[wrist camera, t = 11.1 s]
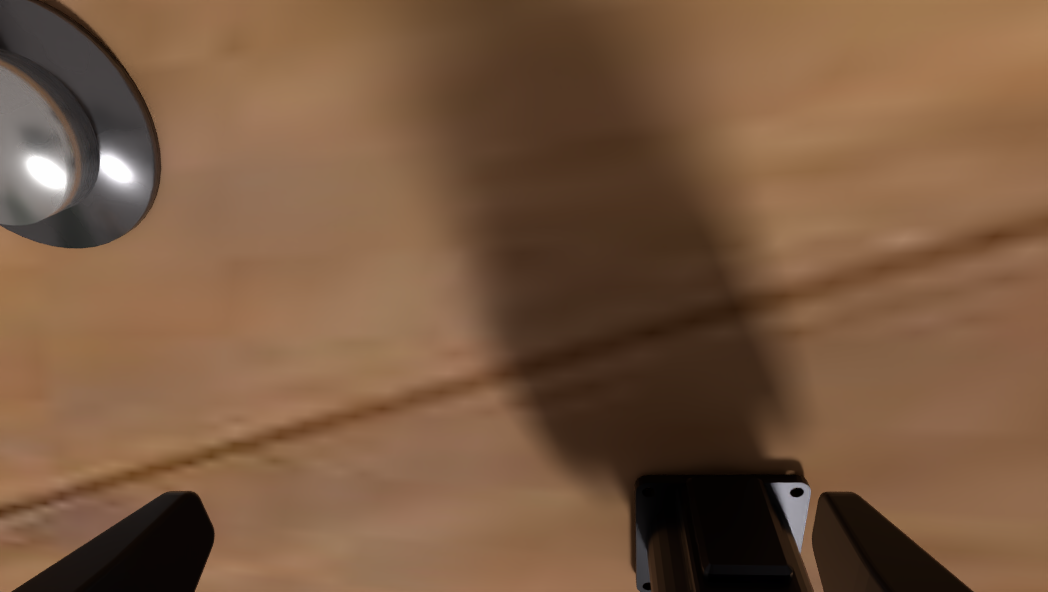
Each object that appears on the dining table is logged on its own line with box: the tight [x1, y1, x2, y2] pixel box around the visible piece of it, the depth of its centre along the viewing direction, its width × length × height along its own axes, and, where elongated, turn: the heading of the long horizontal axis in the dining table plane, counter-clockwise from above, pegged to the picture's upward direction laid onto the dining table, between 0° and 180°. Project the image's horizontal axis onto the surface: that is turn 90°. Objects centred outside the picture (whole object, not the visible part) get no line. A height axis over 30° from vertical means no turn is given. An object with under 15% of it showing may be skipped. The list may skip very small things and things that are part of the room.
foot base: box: [0, 0, 161, 248], centre depth 19 cm, size 8×8×1 cm
